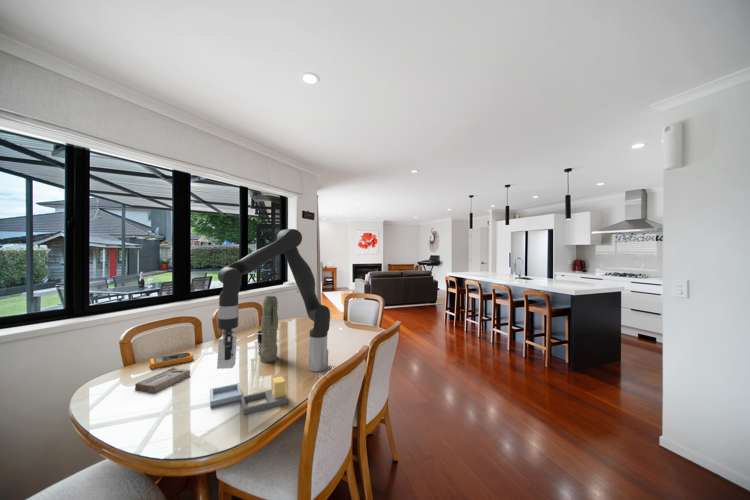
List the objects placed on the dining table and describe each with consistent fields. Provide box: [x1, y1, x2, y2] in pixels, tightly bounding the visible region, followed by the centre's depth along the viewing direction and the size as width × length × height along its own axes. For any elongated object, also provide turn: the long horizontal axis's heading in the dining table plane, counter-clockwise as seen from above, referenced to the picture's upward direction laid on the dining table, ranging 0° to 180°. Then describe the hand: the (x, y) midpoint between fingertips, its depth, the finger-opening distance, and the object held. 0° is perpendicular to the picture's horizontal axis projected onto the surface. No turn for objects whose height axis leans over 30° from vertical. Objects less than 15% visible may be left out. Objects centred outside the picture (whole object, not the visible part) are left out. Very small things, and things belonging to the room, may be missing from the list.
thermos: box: [259, 295, 279, 363], centre depth 155 cm, size 9×12×35 cm
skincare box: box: [216, 335, 238, 370], centre depth 114 cm, size 6×4×12 cm
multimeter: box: [149, 351, 194, 370], centre depth 146 cm, size 9×18×3 cm, turn 132°
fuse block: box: [240, 376, 288, 415], centre depth 112 cm, size 16×10×8 cm, turn 122°
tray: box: [209, 382, 243, 409], centre depth 114 cm, size 11×11×2 cm
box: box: [134, 367, 191, 394], centre depth 125 cm, size 11×17×3 cm, turn 166°
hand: (227, 356), depth 114 cm, fingers closed on skincare box, 5 cm apart
